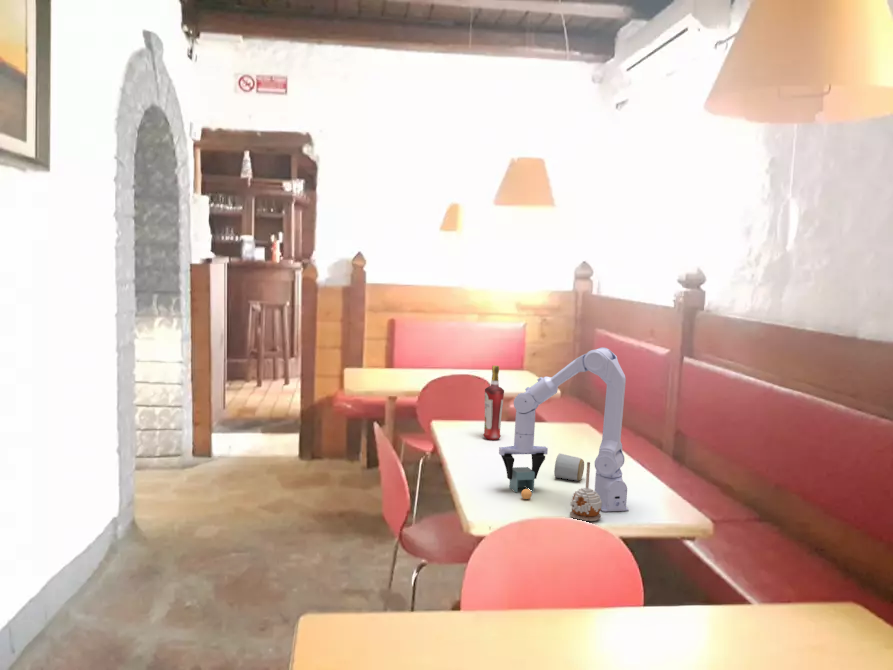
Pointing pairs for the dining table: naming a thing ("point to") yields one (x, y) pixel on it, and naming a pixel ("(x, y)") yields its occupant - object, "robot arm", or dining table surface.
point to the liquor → (493, 407)
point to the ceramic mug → (569, 467)
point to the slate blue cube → (522, 478)
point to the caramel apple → (586, 502)
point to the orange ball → (526, 494)
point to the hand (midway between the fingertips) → (521, 478)
